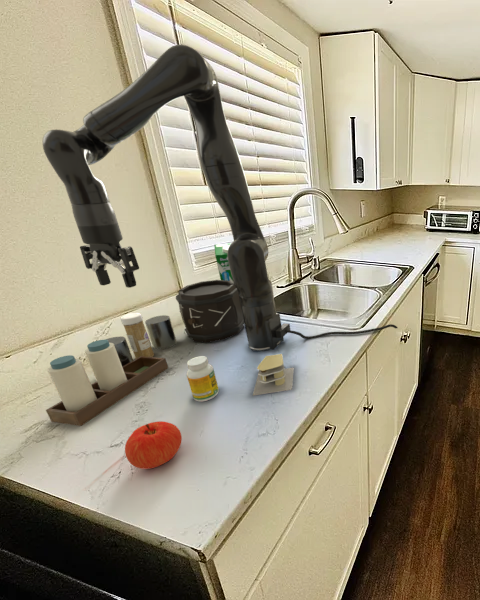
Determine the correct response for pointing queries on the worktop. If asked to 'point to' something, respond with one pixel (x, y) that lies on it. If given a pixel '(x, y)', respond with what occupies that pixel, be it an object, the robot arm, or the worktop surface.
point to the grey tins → (159, 336)
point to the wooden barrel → (210, 310)
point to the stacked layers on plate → (273, 376)
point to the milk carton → (223, 261)
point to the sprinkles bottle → (137, 335)
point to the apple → (153, 444)
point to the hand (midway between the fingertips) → (118, 285)
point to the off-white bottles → (75, 380)
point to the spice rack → (136, 377)
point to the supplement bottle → (202, 379)
